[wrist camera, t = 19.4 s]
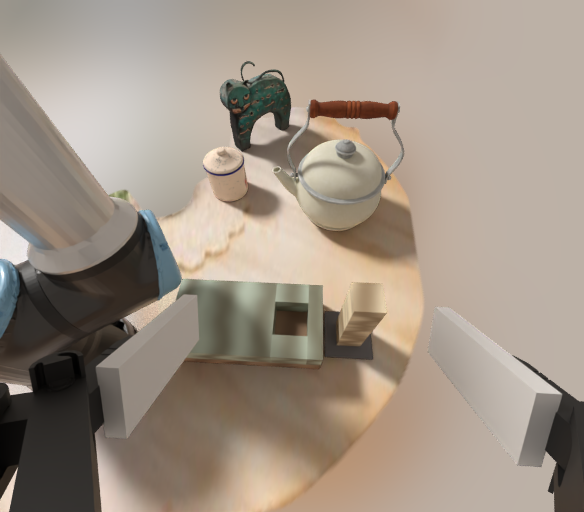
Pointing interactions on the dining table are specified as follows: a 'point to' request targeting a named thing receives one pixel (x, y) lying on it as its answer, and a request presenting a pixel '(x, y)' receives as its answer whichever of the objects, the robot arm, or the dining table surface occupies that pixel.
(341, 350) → the rubber mat
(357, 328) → the wooden block
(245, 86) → the ceramic cat
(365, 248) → the dining table surface
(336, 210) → the kettle
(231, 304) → the green block with hole
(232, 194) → the teacup with lid
